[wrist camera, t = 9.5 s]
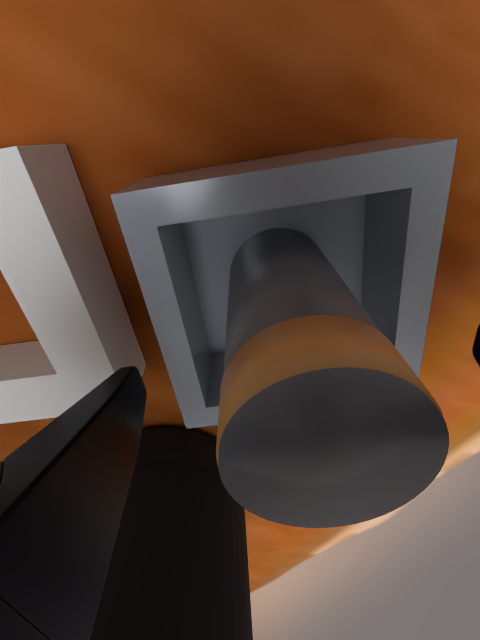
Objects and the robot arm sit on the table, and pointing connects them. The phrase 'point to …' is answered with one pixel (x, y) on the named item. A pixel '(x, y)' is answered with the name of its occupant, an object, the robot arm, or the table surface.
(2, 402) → the square frame
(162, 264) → the square tray
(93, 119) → the table surface
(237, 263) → the battery cell
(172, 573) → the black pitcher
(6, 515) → the robot arm
